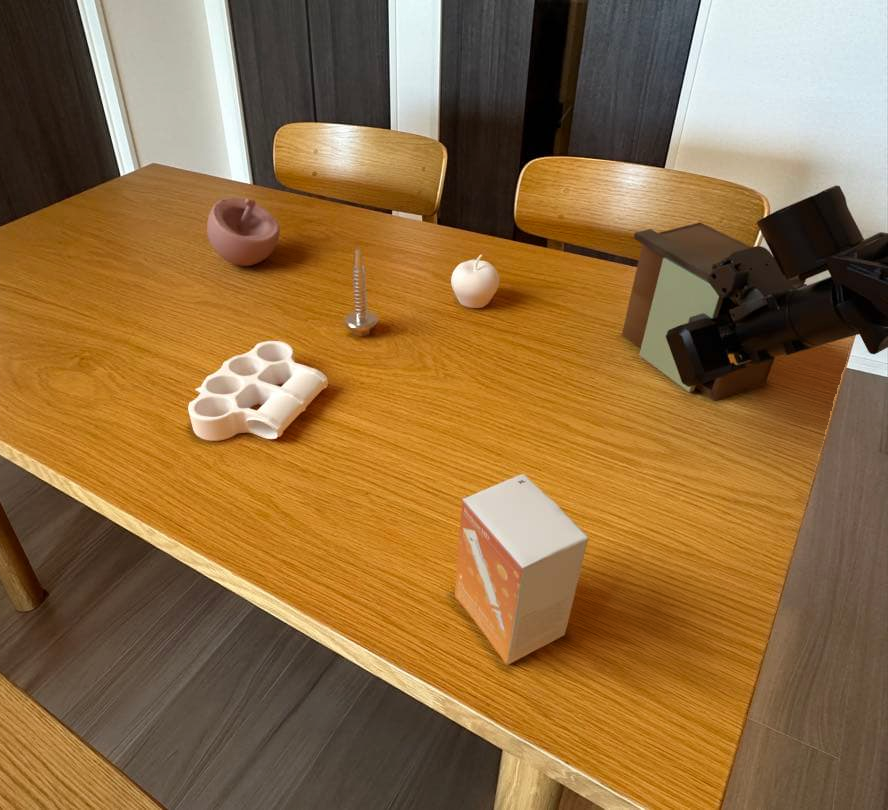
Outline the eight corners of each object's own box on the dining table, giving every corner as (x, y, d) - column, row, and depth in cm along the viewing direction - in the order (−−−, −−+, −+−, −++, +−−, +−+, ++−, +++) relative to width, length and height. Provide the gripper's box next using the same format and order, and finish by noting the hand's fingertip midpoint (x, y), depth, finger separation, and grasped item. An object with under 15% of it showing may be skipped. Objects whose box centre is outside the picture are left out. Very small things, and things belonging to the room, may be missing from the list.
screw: (359, 319, 103) (385, 329, 100) (338, 334, 100) (364, 344, 97) (354, 238, 95) (383, 246, 92) (332, 251, 92) (360, 260, 89)
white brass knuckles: (264, 461, 79) (166, 426, 85) (341, 378, 91) (251, 352, 97) (260, 439, 77) (160, 405, 83) (340, 357, 89) (247, 332, 95)
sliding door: (694, 390, 85) (726, 289, 76) (675, 396, 84) (706, 294, 75) (643, 353, 91) (668, 256, 83) (626, 359, 91) (649, 261, 82)
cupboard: (765, 383, 86) (810, 267, 76) (697, 406, 83) (736, 289, 73) (672, 323, 98) (701, 216, 88) (611, 340, 95) (634, 232, 85)
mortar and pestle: (266, 281, 114) (257, 215, 107) (201, 274, 117) (188, 209, 110) (293, 249, 123) (286, 186, 116) (232, 244, 126) (221, 182, 119)
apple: (479, 319, 101) (483, 269, 96) (440, 304, 105) (442, 255, 100) (506, 300, 105) (511, 252, 100) (468, 286, 109) (471, 239, 104)
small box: (453, 597, 64) (459, 497, 55) (509, 570, 66) (524, 470, 57) (506, 668, 58) (522, 568, 50) (567, 637, 60) (592, 535, 52)
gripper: (855, 216, 68) (735, 271, 83) (704, 256, 64) (606, 307, 79) (897, 323, 67) (768, 359, 82) (746, 371, 63) (639, 400, 78)
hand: (696, 354), depth 80 cm, fingers closed
